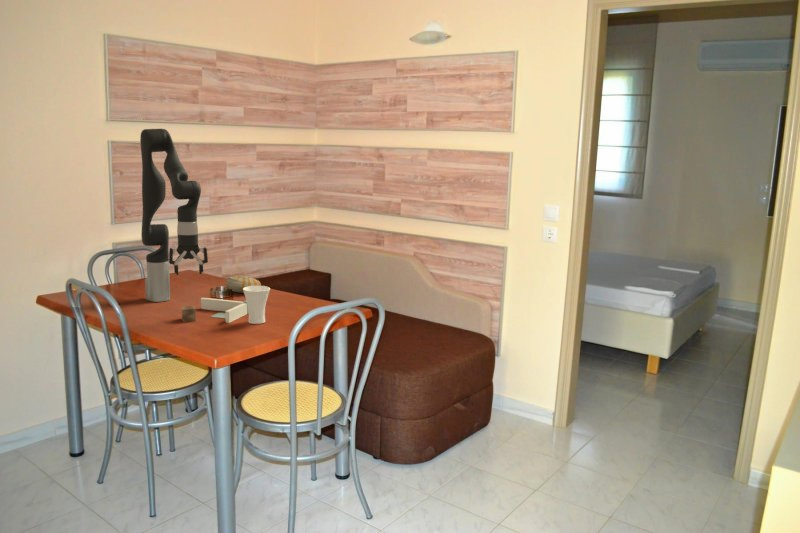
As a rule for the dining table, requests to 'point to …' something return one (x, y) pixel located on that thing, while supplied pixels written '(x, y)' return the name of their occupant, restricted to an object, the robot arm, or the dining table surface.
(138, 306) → the dining table surface
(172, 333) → the dining table surface
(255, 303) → the cup
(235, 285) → the nautilus
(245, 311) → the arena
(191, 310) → the block
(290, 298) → the dining table surface
